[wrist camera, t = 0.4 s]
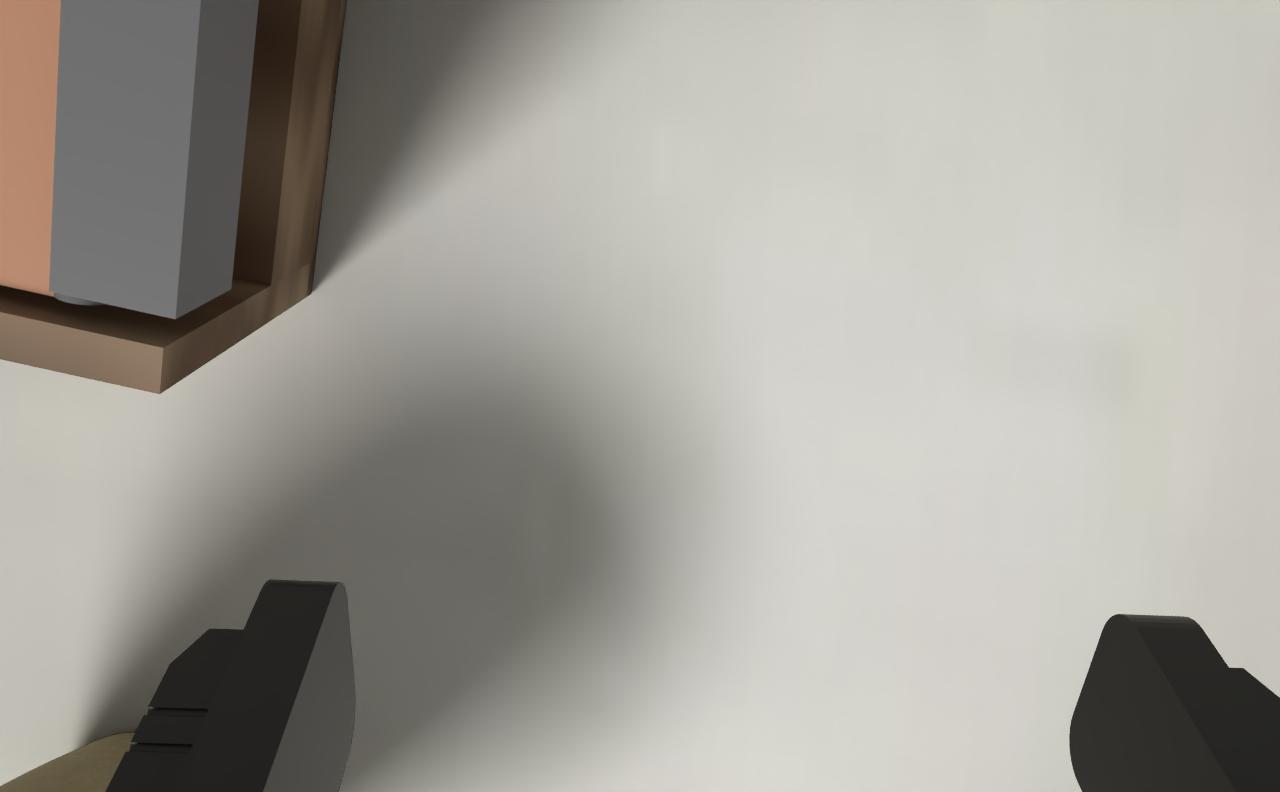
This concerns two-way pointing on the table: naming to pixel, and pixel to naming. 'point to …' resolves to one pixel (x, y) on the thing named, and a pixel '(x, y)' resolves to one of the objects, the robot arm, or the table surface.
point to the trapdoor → (123, 148)
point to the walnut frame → (266, 231)
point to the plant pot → (76, 768)
